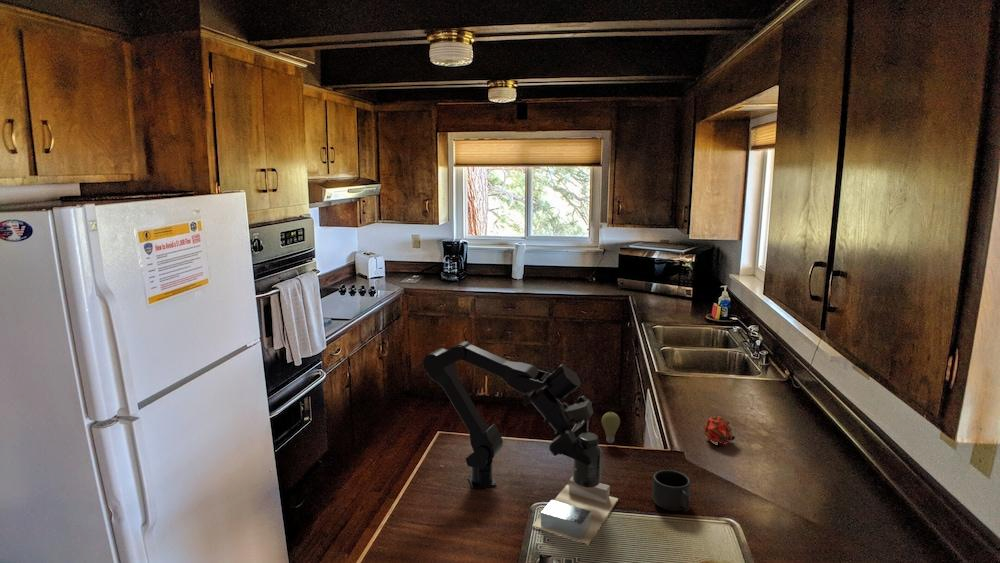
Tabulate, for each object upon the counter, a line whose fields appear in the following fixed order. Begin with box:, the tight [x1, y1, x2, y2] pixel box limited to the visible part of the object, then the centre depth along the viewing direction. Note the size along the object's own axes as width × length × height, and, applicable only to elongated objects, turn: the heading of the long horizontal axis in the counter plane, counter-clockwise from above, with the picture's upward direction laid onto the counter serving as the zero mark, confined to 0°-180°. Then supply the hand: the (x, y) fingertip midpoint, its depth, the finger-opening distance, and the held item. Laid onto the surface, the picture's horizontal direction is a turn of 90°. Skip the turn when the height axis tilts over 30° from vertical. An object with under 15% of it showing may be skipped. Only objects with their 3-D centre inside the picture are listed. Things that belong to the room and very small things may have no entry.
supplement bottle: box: [572, 431, 603, 488], centre depth 141 cm, size 7×7×12 cm
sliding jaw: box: [540, 499, 591, 538], centre depth 133 cm, size 6×10×4 cm, turn 61°
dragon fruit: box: [703, 415, 736, 445], centre depth 177 cm, size 8×8×12 cm
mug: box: [651, 469, 692, 512], centre depth 141 cm, size 12×9×7 cm
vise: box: [531, 475, 619, 546], centre depth 139 cm, size 21×14×4 cm, turn 151°
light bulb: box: [601, 411, 621, 444], centre depth 176 cm, size 6×6×10 cm
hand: (592, 457), depth 141 cm, fingers closed on supplement bottle, 7 cm apart
